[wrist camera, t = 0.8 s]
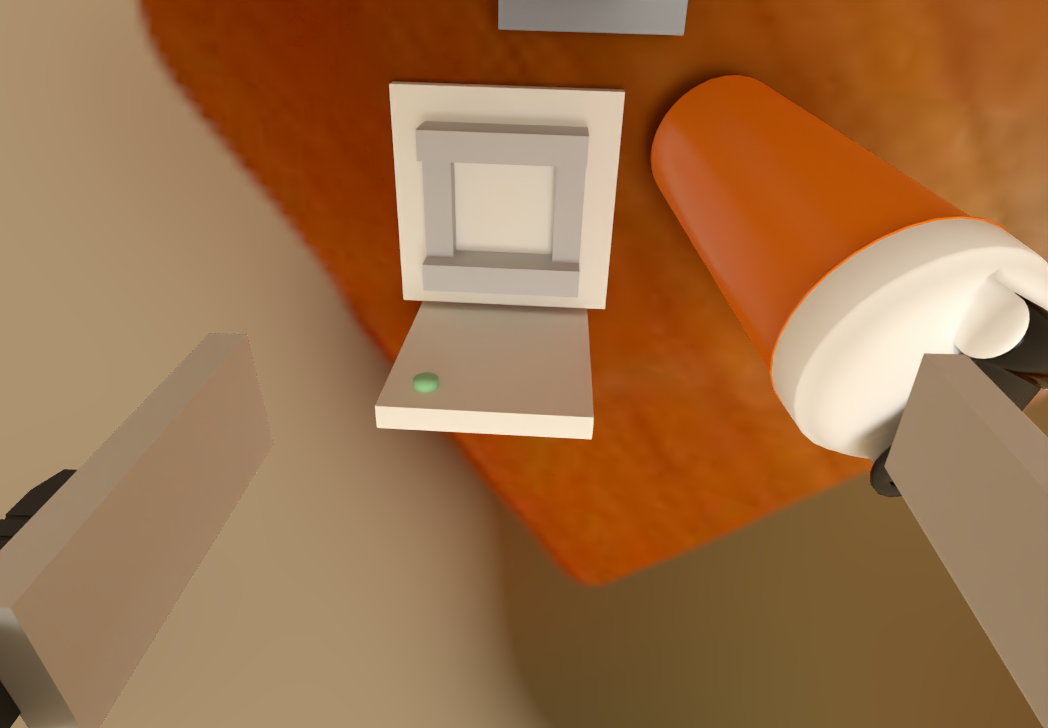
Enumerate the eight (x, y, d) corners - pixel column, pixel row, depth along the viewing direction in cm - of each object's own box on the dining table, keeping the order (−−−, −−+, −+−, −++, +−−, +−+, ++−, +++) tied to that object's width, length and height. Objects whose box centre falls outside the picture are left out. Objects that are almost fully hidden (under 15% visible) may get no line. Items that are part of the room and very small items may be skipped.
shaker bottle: (603, 200, 36) (779, 505, 21) (684, 27, 31) (989, 271, 16) (739, 236, 39) (973, 521, 24) (832, 84, 34) (1199, 330, 19)
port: (393, 81, 35) (320, 121, 25) (623, 89, 35) (647, 133, 24) (408, 316, 42) (355, 426, 32) (601, 326, 42) (613, 440, 31)
